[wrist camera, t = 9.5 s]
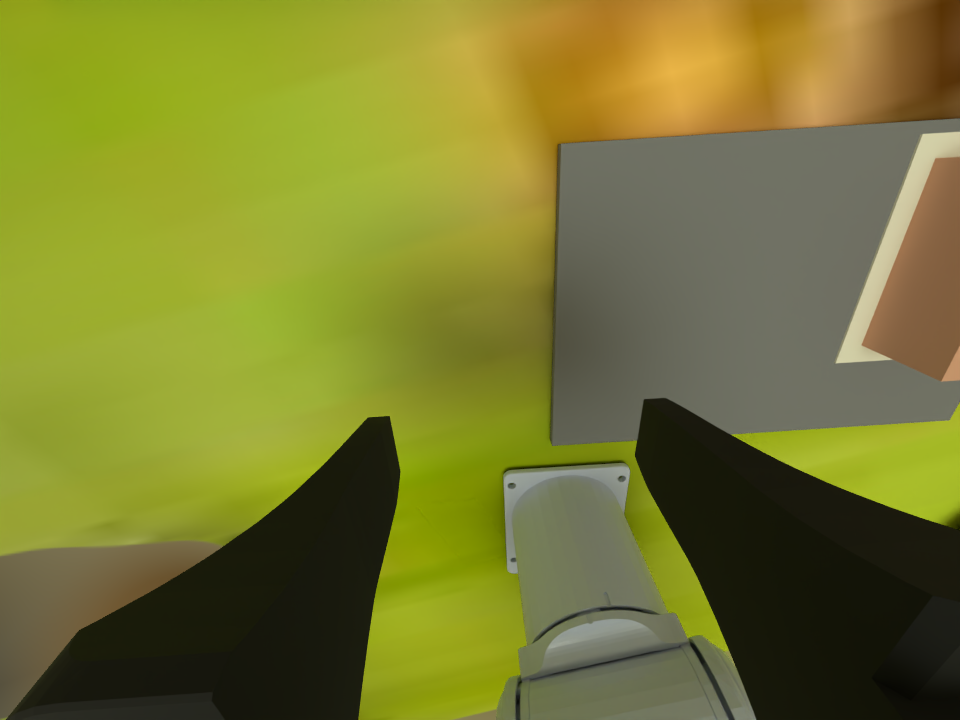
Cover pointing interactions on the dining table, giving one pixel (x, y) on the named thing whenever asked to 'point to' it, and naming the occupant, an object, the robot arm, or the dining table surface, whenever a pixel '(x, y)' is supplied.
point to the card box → (925, 284)
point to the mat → (737, 279)
